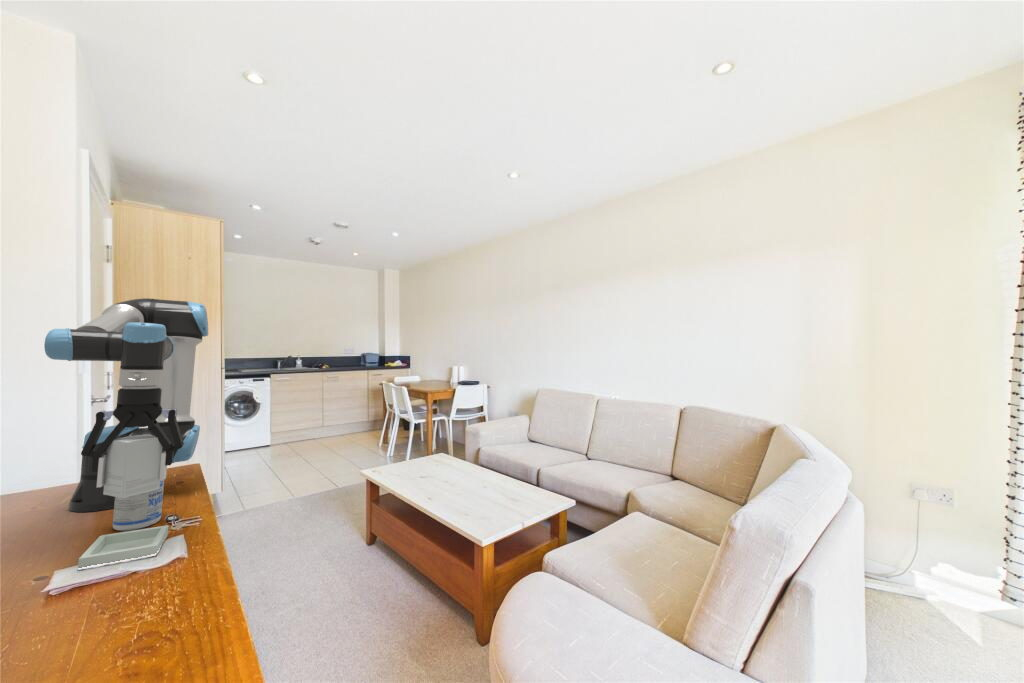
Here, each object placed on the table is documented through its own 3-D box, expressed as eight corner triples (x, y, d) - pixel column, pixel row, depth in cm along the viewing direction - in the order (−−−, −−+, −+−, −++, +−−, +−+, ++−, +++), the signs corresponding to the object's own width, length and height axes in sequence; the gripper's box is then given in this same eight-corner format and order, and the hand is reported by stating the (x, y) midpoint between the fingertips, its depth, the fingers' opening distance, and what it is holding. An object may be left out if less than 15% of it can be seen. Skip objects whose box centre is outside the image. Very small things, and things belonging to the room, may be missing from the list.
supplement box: (160, 489, 93) (165, 436, 93) (121, 499, 86) (126, 441, 86) (141, 485, 95) (145, 433, 96) (101, 494, 88) (106, 438, 89)
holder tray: (99, 546, 91) (100, 535, 92) (168, 535, 98) (168, 525, 98) (77, 571, 81) (78, 558, 81) (156, 556, 88) (157, 545, 88)
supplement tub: (156, 527, 102) (161, 471, 103) (106, 535, 97) (111, 476, 98) (164, 514, 110) (168, 462, 111) (118, 521, 105) (122, 467, 106)
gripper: (64, 389, 82) (54, 494, 81) (198, 388, 95) (191, 480, 93) (79, 386, 89) (70, 484, 88) (202, 386, 101) (196, 472, 100)
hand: (132, 482), depth 90 cm, fingers closed on supplement box, 10 cm apart
